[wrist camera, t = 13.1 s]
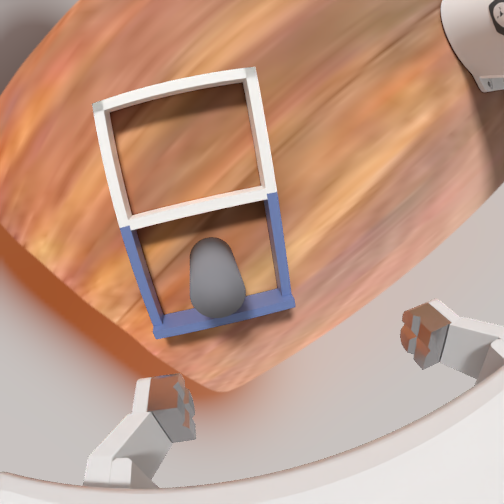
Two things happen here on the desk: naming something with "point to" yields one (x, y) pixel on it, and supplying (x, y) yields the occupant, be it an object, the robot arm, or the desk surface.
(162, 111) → the desk surface
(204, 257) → the smooth grey pebble
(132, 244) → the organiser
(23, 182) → the desk surface
